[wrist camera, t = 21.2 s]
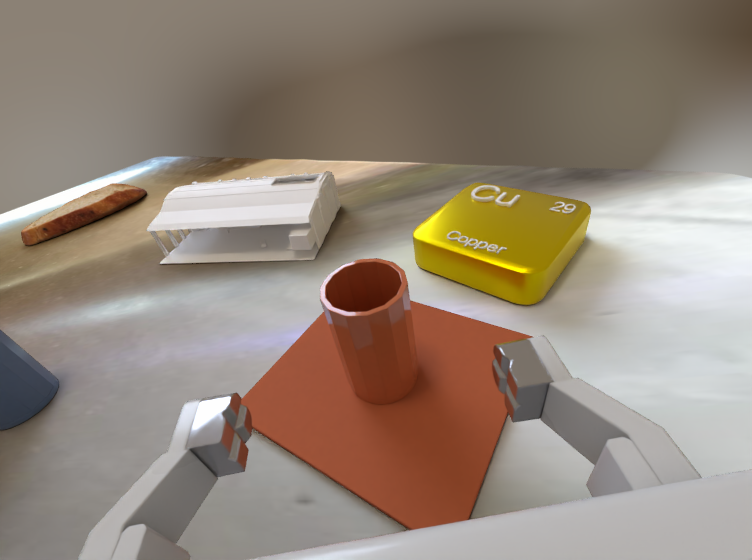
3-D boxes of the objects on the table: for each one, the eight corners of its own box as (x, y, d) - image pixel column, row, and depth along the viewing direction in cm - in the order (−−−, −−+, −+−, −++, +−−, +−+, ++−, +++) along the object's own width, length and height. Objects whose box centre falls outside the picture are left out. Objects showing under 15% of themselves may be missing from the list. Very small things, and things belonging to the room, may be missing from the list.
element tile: (408, 265, 43) (404, 231, 40) (473, 208, 51) (473, 176, 48) (534, 312, 34) (541, 273, 31) (589, 235, 42) (598, 198, 39)
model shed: (154, 264, 53) (127, 222, 48) (206, 213, 64) (187, 175, 59) (316, 260, 47) (301, 212, 43) (342, 205, 58) (333, 162, 54)
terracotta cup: (397, 417, 28) (377, 327, 22) (334, 386, 31) (301, 300, 25) (431, 359, 31) (422, 269, 25) (372, 337, 34) (351, 251, 28)
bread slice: (14, 248, 65) (-3, 230, 62) (76, 202, 79) (64, 186, 76) (108, 233, 63) (95, 214, 61) (154, 189, 78) (145, 172, 75)
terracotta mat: (454, 558, 21) (454, 556, 21) (231, 414, 31) (229, 411, 31) (534, 340, 32) (535, 337, 32) (351, 286, 42) (350, 282, 41)
